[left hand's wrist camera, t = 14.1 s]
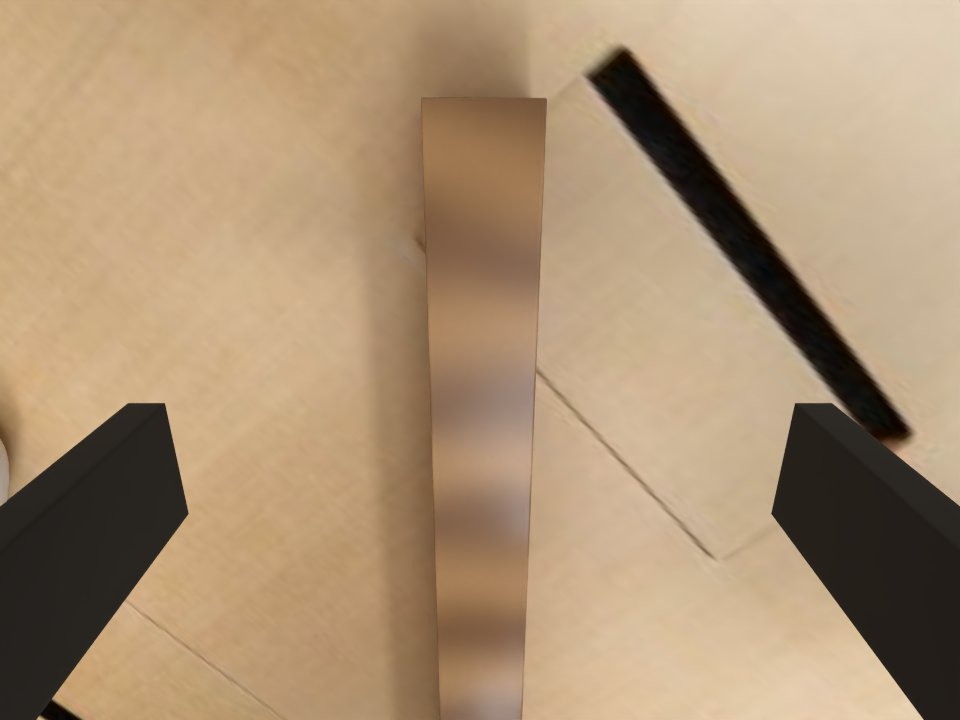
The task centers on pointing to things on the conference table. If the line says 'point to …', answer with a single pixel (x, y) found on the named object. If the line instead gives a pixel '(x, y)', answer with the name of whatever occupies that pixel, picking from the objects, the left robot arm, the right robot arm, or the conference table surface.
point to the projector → (4, 474)
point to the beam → (482, 386)
